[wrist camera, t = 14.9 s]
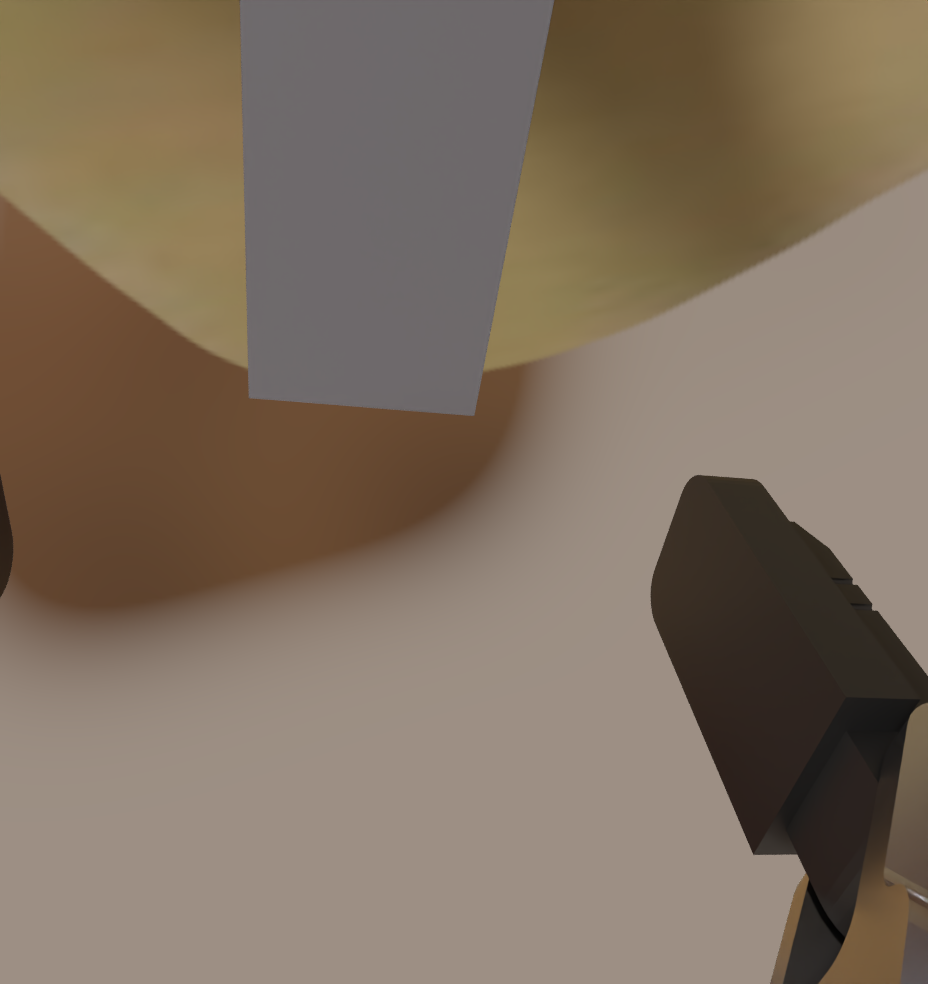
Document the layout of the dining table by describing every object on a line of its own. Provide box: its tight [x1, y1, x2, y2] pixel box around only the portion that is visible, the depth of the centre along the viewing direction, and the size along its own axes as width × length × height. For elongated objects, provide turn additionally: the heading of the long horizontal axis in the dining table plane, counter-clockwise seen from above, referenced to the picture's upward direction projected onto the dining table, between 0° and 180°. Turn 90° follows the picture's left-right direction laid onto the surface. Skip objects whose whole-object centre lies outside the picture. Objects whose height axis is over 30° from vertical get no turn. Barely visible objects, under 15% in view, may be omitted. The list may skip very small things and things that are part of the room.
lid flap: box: [240, 0, 554, 416], centre depth 18 cm, size 20×14×9 cm
